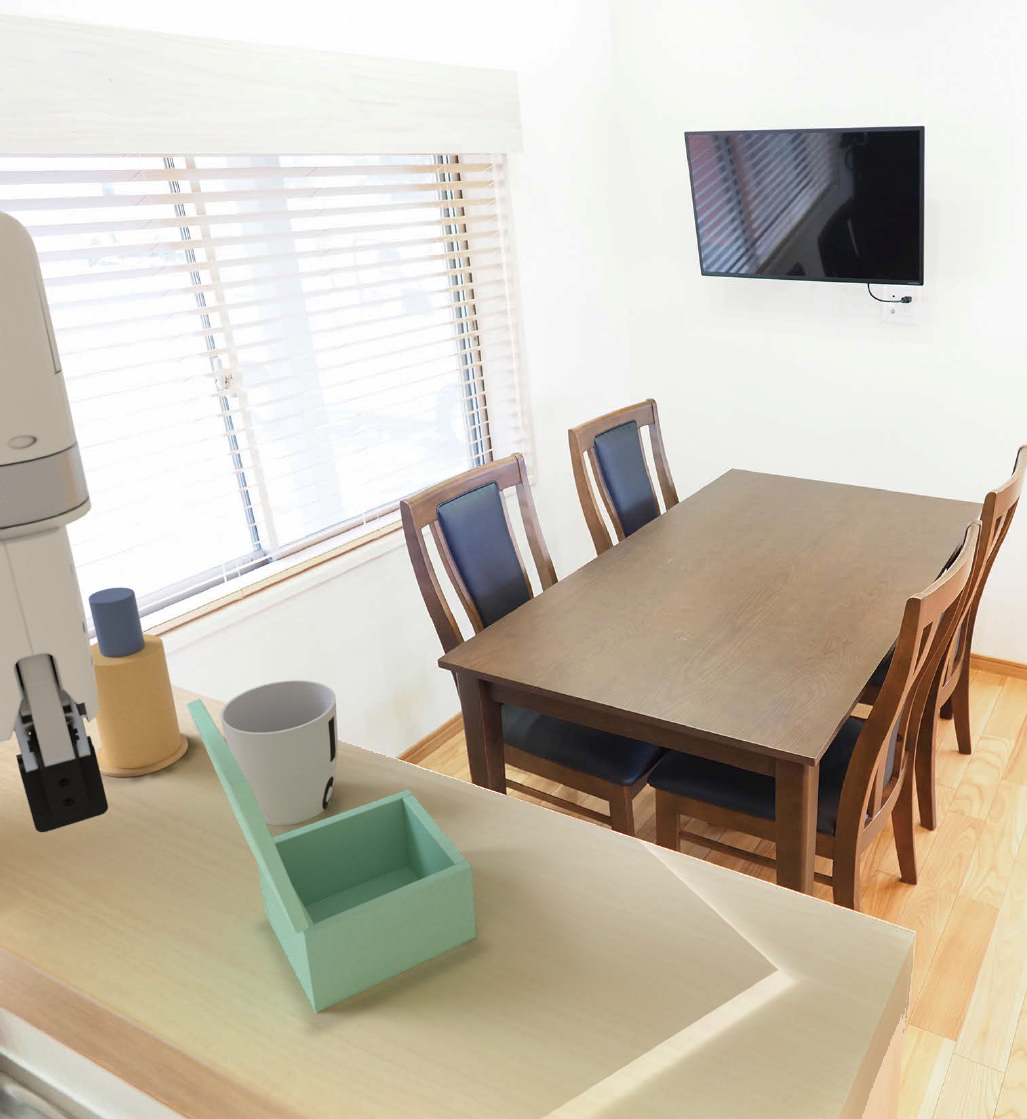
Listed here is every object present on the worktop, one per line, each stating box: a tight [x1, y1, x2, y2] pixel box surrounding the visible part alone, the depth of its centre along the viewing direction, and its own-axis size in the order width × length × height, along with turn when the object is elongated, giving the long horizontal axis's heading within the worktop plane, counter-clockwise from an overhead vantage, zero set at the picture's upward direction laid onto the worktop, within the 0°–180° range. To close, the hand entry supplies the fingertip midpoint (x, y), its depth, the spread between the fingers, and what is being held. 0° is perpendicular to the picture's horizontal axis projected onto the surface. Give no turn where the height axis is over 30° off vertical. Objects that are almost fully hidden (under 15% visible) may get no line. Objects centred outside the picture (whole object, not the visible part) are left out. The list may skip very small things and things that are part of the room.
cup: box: [219, 679, 339, 826], centre depth 76 cm, size 8×8×10 cm
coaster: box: [96, 732, 189, 778], centre depth 84 cm, size 7×7×1 cm
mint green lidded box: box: [256, 789, 477, 1014], centre depth 64 cm, size 11×11×7 cm
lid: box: [186, 698, 309, 934], centre depth 57 cm, size 11×11×1 cm
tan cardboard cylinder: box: [88, 587, 182, 768], centre depth 81 cm, size 6×6×15 cm
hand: (71, 815), depth 51 cm, fingers closed
